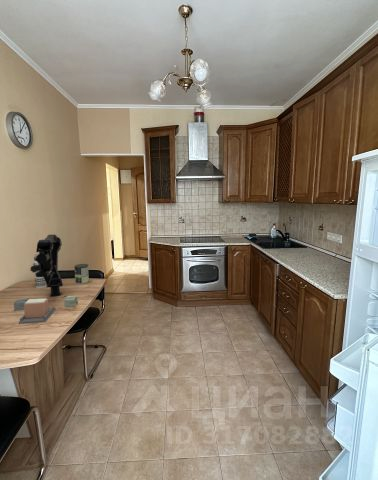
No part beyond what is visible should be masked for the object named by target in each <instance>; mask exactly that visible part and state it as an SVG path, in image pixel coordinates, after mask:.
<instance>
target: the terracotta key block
mask: <svg viewBox="0 0 378 480" xmlns="http://www.w3.org/2000/svg"><path fill="white" fill-rule="evenodd" d="M49 308H50V307H49V299H48V298H29V300H28V301H27V302H25V304H24V310H23V311H24V314H25V318H36V317H44V316H45V315H46V314H47V312H48V311H49Z"/></svg>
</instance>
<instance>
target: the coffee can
mask: <svg viewBox="0 0 378 480" xmlns="http://www.w3.org/2000/svg"><path fill="white" fill-rule="evenodd" d="M73 267H74V280H75V281H74V282H75V284H76V283H77V284H76V285H83V284H82V283H86V282H88V281H89V282H90V278H89V264H88V263H87V264H86V263H79V264H78V263H77V264H75V265H74V266H73ZM89 282H88V283H89ZM86 284H87V283H86Z"/></svg>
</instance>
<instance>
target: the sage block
mask: <svg viewBox="0 0 378 480" xmlns="http://www.w3.org/2000/svg"><path fill="white" fill-rule="evenodd" d="M78 301H79V300H78V295H68V296H66V297H65V298H64V299H63V302H64V303H63V304H64V305H63V306H64V308H75V307H76V306H77V305H78Z"/></svg>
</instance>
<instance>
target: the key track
mask: <svg viewBox="0 0 378 480" xmlns="http://www.w3.org/2000/svg"><path fill="white" fill-rule="evenodd" d="M55 311H56V308H55V306H52V307H51V308H50V307H49V311H48V312H47V314H46V315H45V316H44V317H36V318H25V313H24V314H23V315H22V316H21V317H20V318H19V321H18V324H19V325H21V324H38V323H46V322H47V321H48V320H49V318H50V317H51V316H52V314H53V313H54V312H55Z"/></svg>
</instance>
